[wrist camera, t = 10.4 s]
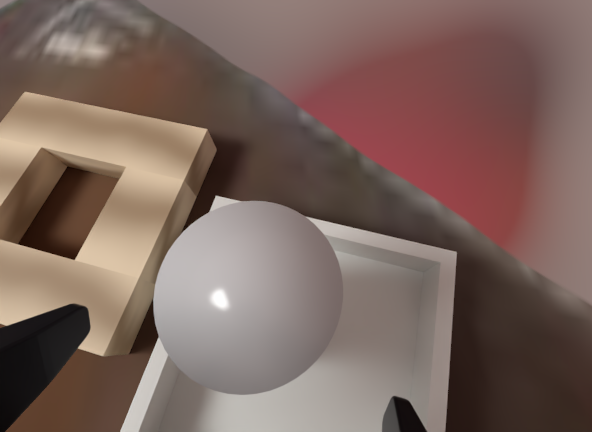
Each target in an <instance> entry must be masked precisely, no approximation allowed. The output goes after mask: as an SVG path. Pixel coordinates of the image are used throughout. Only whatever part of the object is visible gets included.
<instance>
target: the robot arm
mask: <svg viewBox="0 0 592 432" xmlns="http://www.w3.org/2000/svg"><path fill="white" fill-rule="evenodd" d="M90 328H91V325H90V318H89V311H88V308H87V307H86V306H83V305H79V304H76V303H72V304H68V305H66V306H63V307H60V308H57V309H54V310H51V311H48V312H45V313H42V314H40V315H37V316H34V317H31V318H28V319H25V320H22V321H19V322H16V323H14V324H11V325H8V326H5V327H2V328H0V432H5V431H6V430H7V429H8V428H9V427H10V426H11V425H12V424H13V423H14V422H15V420H16V419H17V418H18V417H19V416H20V415H21V414H22V413H23V412H24V411H25V410H26V409H27V408H28V407H29V405H30V404H31V403H32V402H33V401H34V400H35V399H36V398H37V397H38V396H39V395H40V394H41V392H42V391H43V390H44V389H45V388H46V387H47V386H48V385H49V383H50V382H51V381H52V380H53V379H54V377H55V376H56V375H57V374H58V372H59V371H60V370H61V369H62V367H63V366H64V365H65V364H66V362H67V361H68V360H69V359H70V357H71V356H72V355H73V353H74V352H75V351H76V350H77V348H78V347H79V346H80V345H81V343H82V342H83V341H84V340H85V338H86V337H87V336H88V334H89V332H90ZM382 432H427V430H426V429H425V427H424V425H423V423H422V422H421V420H420V418H419V416H418V415H417V413H416V411H415V410H414V408H413V406H412V404H411V403H410V402H409V400H407V399H405V398H401V397H398V396H392V397H391V399H390V401H389V404H388V406H387V408H386V411H385V413H384V416H383V421H382Z"/></svg>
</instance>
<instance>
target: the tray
mask: <svg viewBox="0 0 592 432" xmlns="http://www.w3.org/2000/svg"><path fill="white" fill-rule="evenodd" d="M238 202H241V201H236V200H232V199H228V198H224V197H219V196H216V197H215V199H214V202H213V204H212V207H211V209H210V212H211V211H213V210H215V209H217V208H220V207H223V206H226V205H229V204H233V203H238ZM306 218H308V219H309V220H310V221H311V222H313V223H314V224H315V225H316V226H317V227H318V228H319V229H320V230H321V231H322V233H323V234H324V235H325V237H326V238H327V239H328V241H329V243H330V244H331V246H332V248H333V250H334V252H335V254H336V257H337V259H338V262H339V266H340V269H341V273H342V281H343V302H342V310H341V314H340V318H339V322H338V325H337V328H336V330H335V332H334V335H333V337H332V339H331V341H330V342H329V344H328V346H327V348H326V349H325V351H324V352H323V353H322V354H321V356H320V357H319V358H318V360H317V361H316V362H315V363H314V364H313V365H312V366H311V367H310V368H309V369H308V370H307V371H305V372H304V373H303V374H301V375H300V376H299V377H297V378H296V379H294V380H293V381H291V382H289V383H287V384H285V385H284V386H281V387H279V388H276V389H273V390H271V391H267V392H262V393H258V394H249V395H236V394H226V393H222V392H218V391H214V390H212V389H209V388H207V387H204V386H202V385H200V384H199V383H197V382H195V381H194V380H192V379H190V378H189V377H188V376H187V375H186V374H184V373H183V372H182V371H181V370H180V369H179V368H178V367H177V366H176V365H175V363H174V362H173V361H172V360H171V358H170V357H169V355H168V354H167V352H166V351H165V349H164V347H163V345H162V343H161V340H160V338H159V337H158V340H157V342H156V345H155V347H154V350H153V352H152V355H151V357H150V360H149V362H148V365H147V367H146V370H145V372H144V374H143V377H142V379H141V382H140V384H139V387H138V389H137V392H136V394H135V397H134V399H133V402H132V404H131V407H130V409H129V411H128V414H127V416H126V419H125V421H124V424H123V426H122V429H121V431H120V432H382V421H383V416H384V413H385V411H386V408H387V406H388V404H389V401H390V399H391V397H392V396H398V397H401V398H405V399H407V400H409V402H410V403H411V404H412V406H413V408H414V410H415V411H416V413H417V415H418V416H419V418H420V420H421V422H422V423H423V425H424V427H425V429H426V430H427V432H445V429H446V413H447V398H448V382H449V367H450V351H451V335H452V320H453V304H454V289H455V273H456V257H457V252H455V251H450V250H446V249H442V248H437V247H433V246H429V245H425V244H420V243H416V242H412V241H407V240H403V239H399V238H395V237H390V236H386V235H382V234H378V233H373V232H369V231H365V230H360V229H356V228H352V227H348V226H343V225H339V224H335V223H331V222H326V221H322V220H318V219H313V218H309V217H306Z"/></svg>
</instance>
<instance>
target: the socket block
mask: <svg viewBox="0 0 592 432" xmlns="http://www.w3.org/2000/svg"><path fill="white" fill-rule="evenodd" d="M216 151H217V149H216V147H215V145H214V143H213V140H212V138H211V136H210V134H209V132H208V130H207V129H203V128H198V127H194V126H189V125H184V124H179V123H174V122H169V121H164V120H160V119H155V118H150V117H145V116H140V115H135V114H130V113H126V112H121V111H116V110H111V109H106V108H101V107H96V106H92V105H87V104H82V103H77V102H72V101H67V100H63V99H58V98H53V97H48V96H43V95H38V94H33V93H29V92H24V94H23V95H22V96H21V97H20V99H19V100H18V101H17V102H16V104H15V105H14V106H13V108H12V109H11V110H10V111H9V113H8V114H7V115H6V116H5V118H4V119H3V120H2V122H1V123H0V324H3V325H7V326H8V325H11V324H14V323H16V322H19V321H22V320H25V319H28V318H31V317H34V316H37V315H40V314H42V313H45V312H48V311H51V310H54V309H57V308H60V307H63V306H66V305H68V304H72V303H76V304H79V305H83V306H86V307H87V308H88V311H89V318H90V325H91V328H90V332H89V334H88V336H87V337H86V338H85V340H84V341H83V342H82V343H81V345H80V346H79V347H78V348H79V349H82V350H85V351H88V352H91V353H94V354H98V355H101V356H113V355H126V354H129V353H130V350H131V348H132V346H133V344H134V341H135V339H136V337H137V334H138V332H139V330H140V327H141V325H142V323H143V320H144V318H145V316H146V313H147V311H148V309H149V306H150V304H151V302H152V299H153V297H154V290H155V284H156V280H157V276H158V273H159V270H160V267H161V265H162V262H163V260H164V258H165V256H166V254H167V252H168V251H169V249H170V248H171V246H172V245H173V243H174V242H175V241H176V239H177V238H178V237H179V236H180V235H181V232H182V230H183V228H184V225H185V223H186V221H187V218H188V216H189V214H190V211H191V209H192V207H193V204H194V202H195V200H196V198H197V195H198V193H199V191H200V188H201V186H202V184H203V181H204V179H205V177H206V174H207V172H208V170H209V167H210V165H211V163H212V160H213V158H214V156H215V153H216ZM67 166H68V167H72V168H76V169H80V170H85V171H89V172H93V173H97V174H101V175H106V176H110V177H114V178H118V179H119V181H118V183H117V185H116V186H115V188H114V190H113V192H112V194H111V195H110V197H109V199H108V201H107V203H106V205H105V206H104V208H103V210H102V212H101V214H100V215H99V217H98V219H97V221H96V223H95V224H94V226H93V228H92V230H91V232H90V233H89V235H88V237H87V239H86V241H85V243H84V244H83V246H82V248H81V250H80V252H79V253H78V255H77V257H76V259H75V260H72V259H68V258H65V257H61V256H58V255H54V254H50V253H47V252H43V251H40V250H36V249H33V248H29V247H25V246H22V245H18V243H19V241H20V240H21V238H22V237H23V235H24V234H25V232H26V231H27V229H28V227H29V226H30V224H31V223H32V221H33V220H34V218H35V216H36V215H37V213H38V212H39V210H40V209H41V207H42V205H43V204H44V202H45V201H46V199H47V198H48V196H49V195H50V193H51V191H52V190H53V188H54V187H55V185H56V184H57V182H58V180H59V179H60V177H61V176H62V174H63V173H64V171H65V169H66V168H67Z"/></svg>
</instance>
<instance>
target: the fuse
mask: <svg viewBox="0 0 592 432" xmlns="http://www.w3.org/2000/svg"><path fill="white" fill-rule="evenodd" d="M342 302H343V281H342V273H341V269H340V266H339V262H338V259H337V257H336V254H335V252H334V250H333V248H332V246H331V244H330V243H329V241H328V239H327V238H326V237H325V235H324V234H323V233H322V231H321V230H320V229H319V228H318V227H317V226H316V225H315V224H314V223H313V222H311V221H310V220H309V219H308V218H306V217H305V216H303V215H302V214H300V213H298V212H297V211H295V210H293V209H290V208H288V207H286V206H283V205H279V204H276V203H271V202H265V201H245V202H238V203H233V204H229V205H226V206H223V207H220V208H217V209H215V210H213V211H211V212H209V213H207V214H205V215H204V216H202V217H200V218H199V219H198V220H196V221H195V222H194V223H192V224H191V225H190V226H189V227H188V228H187V229H186V230H185V231H183V232H182V234H181V235H180V236H179V237H178V238H177V239H176V241H175V242H174V243H173V245H172V246H171V248H170V249H169V251H168V252H167V254H166V256H165V258H164V260H163V262H162V265H161V267H160V270H159V273H158V276H157V280H156V284H155V290H154V298H153V306H154V318H155V325H156V328H157V332H158V335H159V338H160V340H161V343H162V345H163V347H164V349H165V351H166V352H167V354H168V355H169V357H170V358H171V360H172V361H173V362H174V363H175V365H176V366H177V367H178V368H179V369H180V370H181V371H182V372H183V373H184V374H186V375H187V376H188V377H189V378H190V379H192V380H194V381H195V382H197V383H199V384H200V385H202V386H204V387H207V388H209V389H212V390H214V391H218V392H222V393H226V394H236V395H249V394H258V393H262V392H267V391H271V390H273V389H276V388H279V387H281V386H284V385H285V384H287V383H289V382H291V381H293V380H294V379H296V378H297V377H299V376H300V375H301V374H303V373H304V372H305V371H307V370H308V369H309V368H310V367H311V366H312V365H313V364H314V363H315V362H316V361H317V360H318V358H319V357H320V356H321V354H322V353H323V352H324V351H325V349H326V348H327V346H328V344H329V342H330V341H331V339H332V337H333V335H334V332H335V330H336V328H337V325H338V322H339V318H340V314H341V310H342Z"/></svg>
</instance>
